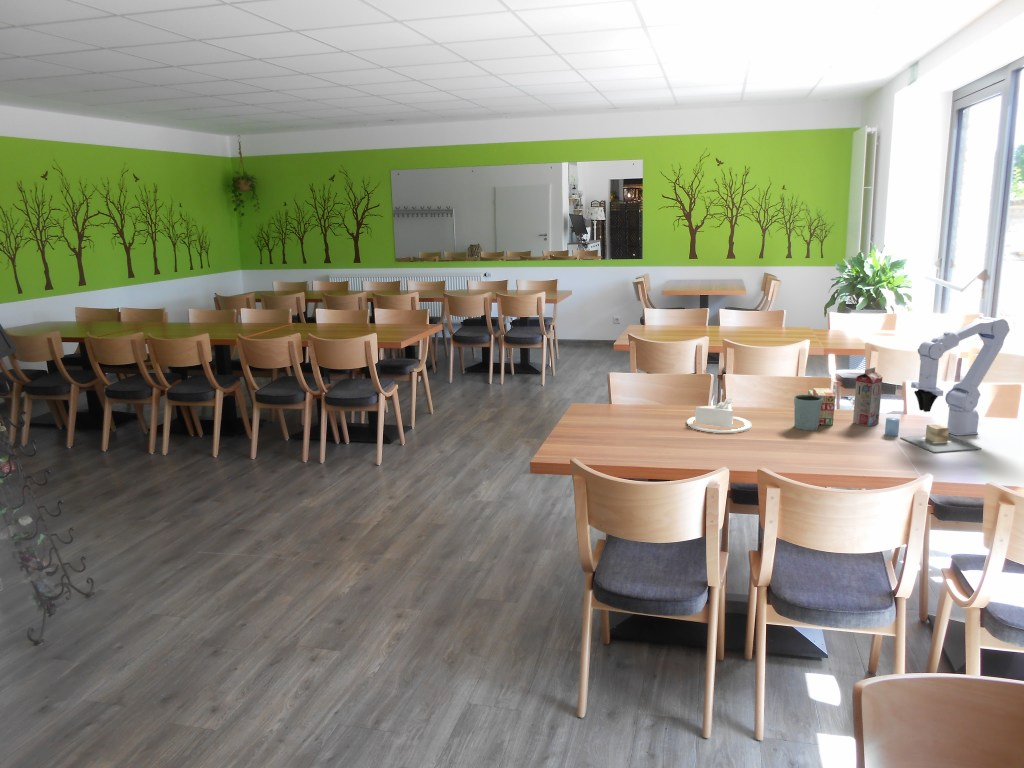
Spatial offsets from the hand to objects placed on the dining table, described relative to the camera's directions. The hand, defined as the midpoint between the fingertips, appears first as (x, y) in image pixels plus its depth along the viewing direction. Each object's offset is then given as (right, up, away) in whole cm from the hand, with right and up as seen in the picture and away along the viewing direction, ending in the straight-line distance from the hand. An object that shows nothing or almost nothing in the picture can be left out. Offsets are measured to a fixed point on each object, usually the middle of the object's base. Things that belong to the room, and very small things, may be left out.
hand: (924, 410), depth 278 cm
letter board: (+1, -11, -8) cm, 14 cm away
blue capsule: (-10, -9, +4) cm, 14 cm away
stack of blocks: (-27, -4, +29) cm, 39 cm away
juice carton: (-13, -6, +20) cm, 24 cm away
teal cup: (-37, -7, +16) cm, 41 cm away
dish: (-70, -7, +22) cm, 73 cm away
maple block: (+1, -10, -5) cm, 12 cm away
